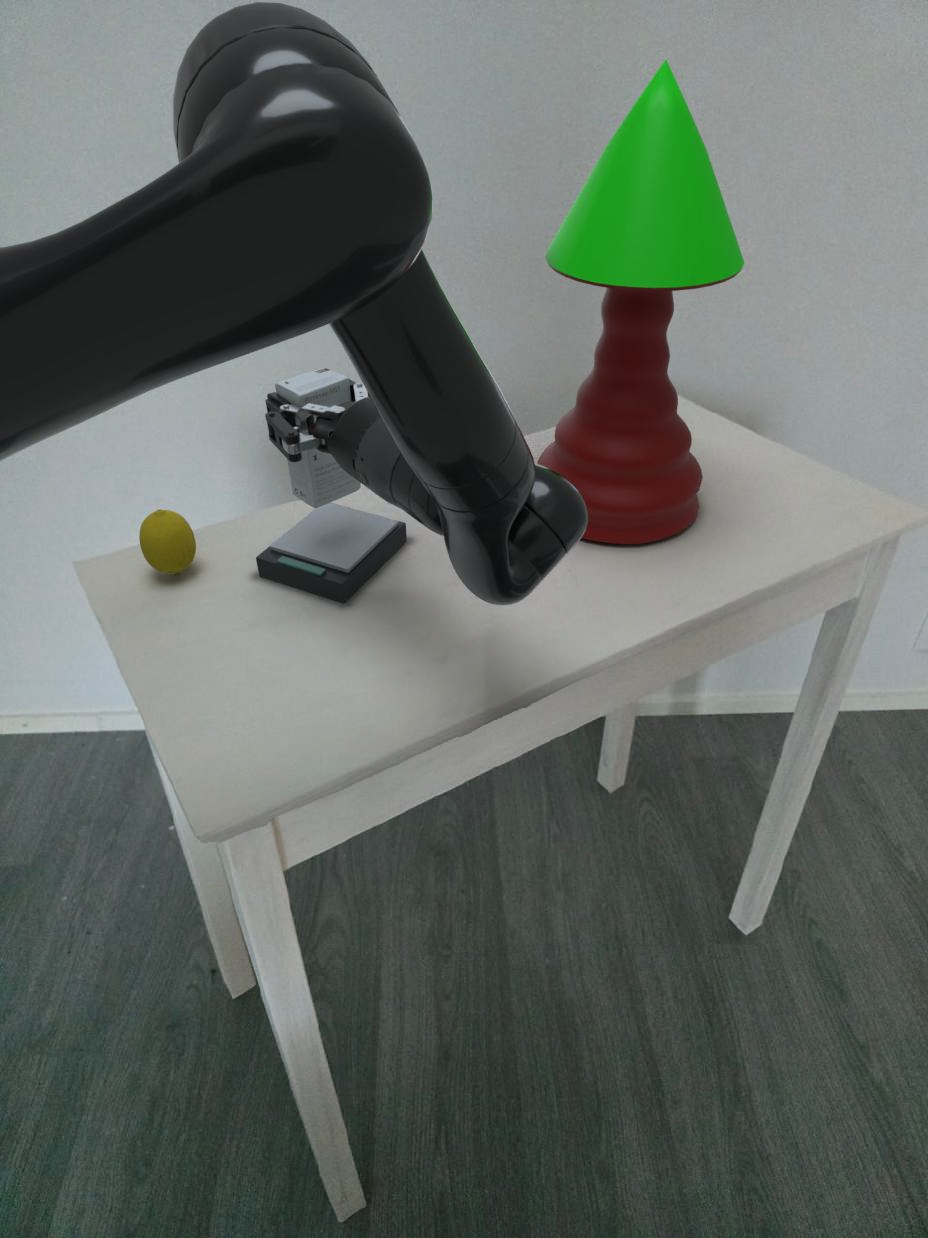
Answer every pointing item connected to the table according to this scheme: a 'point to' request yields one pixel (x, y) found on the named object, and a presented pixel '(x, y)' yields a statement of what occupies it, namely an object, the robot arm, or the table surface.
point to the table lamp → (640, 316)
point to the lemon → (167, 541)
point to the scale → (332, 551)
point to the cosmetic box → (317, 470)
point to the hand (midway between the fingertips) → (303, 393)
